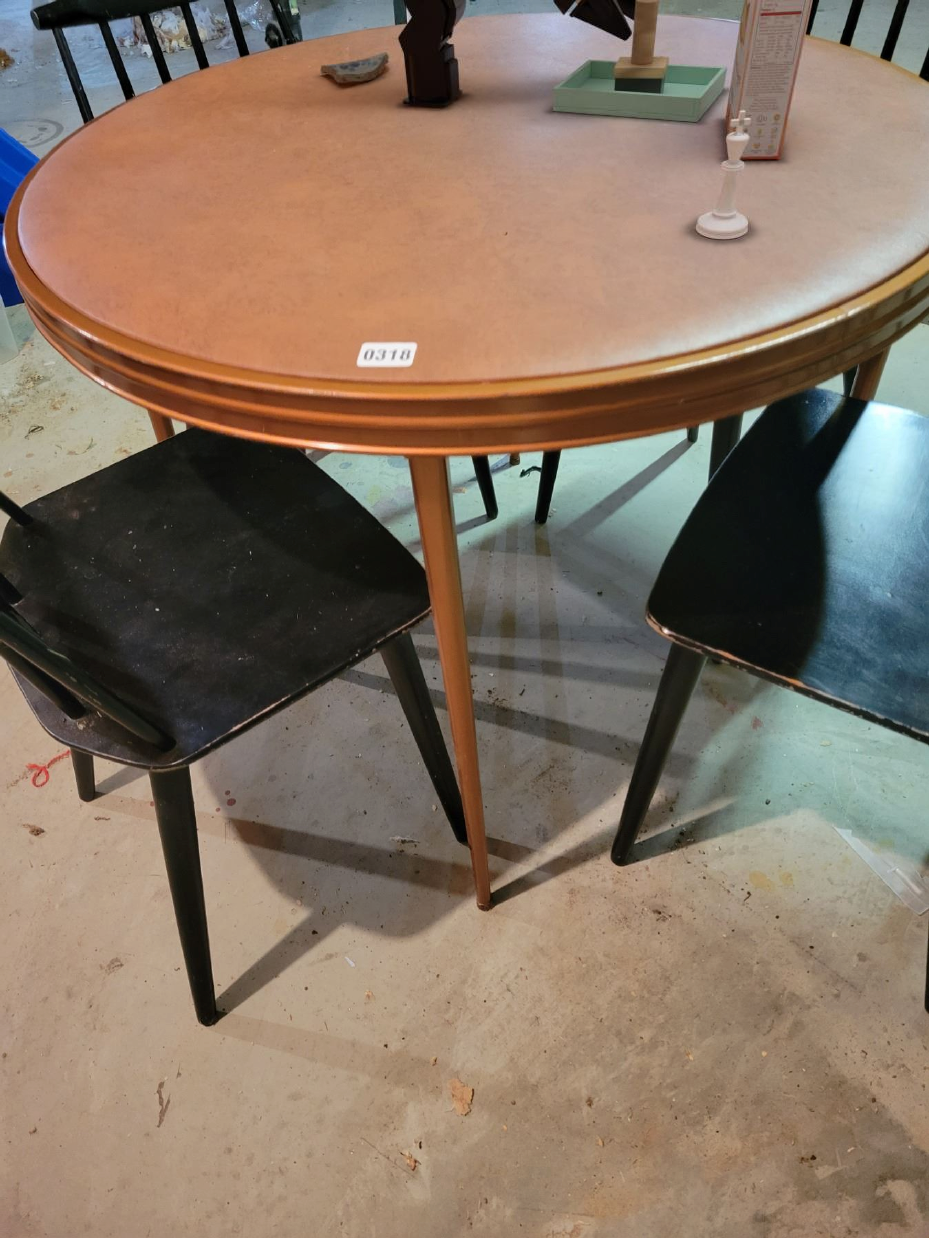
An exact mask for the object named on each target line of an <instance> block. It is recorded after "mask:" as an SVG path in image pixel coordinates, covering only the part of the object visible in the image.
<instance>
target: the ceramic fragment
mask: <svg viewBox="0 0 929 1238" xmlns="http://www.w3.org/2000/svg"><path fill="white" fill-rule="evenodd" d="M389 58H390V56H389V54H388V53H387V52H381V53H378V54H376V55H372V56H368V57H366V58H365V57H364V58H361V59H358V60H353V61H348V62H341V63H334V64H333V63H332V64H323V65H321V66H320V73H321V74H322V75H323V74H328V75H329V76H332V77H333V79H334V80H335V81H336V82H337V83H339V84H340V83H341V84H349V83H350V84H352V83H363V82H367V81H371V80H374V79H375V78H376V77H378V76H379V75H380V74H381V73H382V72H383V70H384V69H385V66H386V65H387V64H389V61H390V60H389Z"/></svg>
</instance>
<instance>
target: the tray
mask: <svg viewBox="0 0 929 1238" xmlns="http://www.w3.org/2000/svg"><path fill="white" fill-rule="evenodd" d="M617 62H618V60H601V59H588V60H586V61H585V62H584V63H583V64H582V65H581V66H579V67H578V68H577V69H576V70H574V71H573V72H572V73H570V74H569V75H568V76H567V77H565V79H563V80H562V81H560V82H559V83H558V84H557V85H555V86H554V87H553V100H552V101H553V102H552V111H553V112H562V113H576V114H587V115H588V114H589V115H598V116H599V115H600V116H601V115H602V116H613V117H626V118H638V119H651V120H664V121H675V122H676V121H677V122H689V123H698V122H699V120H700V119H701V118H702V117H703V116H704V115H705V113H706V112H707V111H708V109H709V108H710V107H711V106H712V105H713V103H714V102H715V101H716V100H717V99H718V97H719V96H720V95H721V94H722V93H723V91H724V89H725V84H726V77H727V71H728V67H727V66H714V65H713V66H712V65H692V64H677V63H668V68H667V71H666V75H665V84H664V91H663V93H662V94H654V93H639V92H624V91H614V88H615V78H614V67H615V65H616V63H617Z"/></svg>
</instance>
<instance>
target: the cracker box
mask: <svg viewBox="0 0 929 1238" xmlns="http://www.w3.org/2000/svg"><path fill="white" fill-rule="evenodd" d="M812 6H813V0H743V2H742V6H741V14H740V22H739V27H738V34H737V39H736V41H737V42H736V47H735V54H734V59H733V66H732V73H731V80H730V86H729V93H728V99H727V104H726V105H727V106H726V113H725V121H726V122H725V124H726V136H727V135H728V134H730V133H733V132H736V127H737V126H734V127H731V126H730V122H731V120H732V119H738V115H739V111H742V110H744V111H745V112H746V113H745V118H751V123H750V125H743V130H742V132H744V133H746V134H748V135H749V141H748V143H747V145H746V146H745V149H744V151H743V153H742V155H741V157H740V161H743V160H775V159H776V160H780V159H781V154H782V150H783V145H784V142H785V141H784V139H785V135H786V131H787V126H788V120H789V116H790V111H791V106H792V103H793V96H794V92H795V87H796V82H797V77H798V72H799V68H800V63H801V58H802V53H803V47H804V44H805V38H806V33H807V30H808V26H809V20H810V15H811V10H812Z"/></svg>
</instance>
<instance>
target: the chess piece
mask: <svg viewBox="0 0 929 1238" xmlns="http://www.w3.org/2000/svg"><path fill="white" fill-rule="evenodd" d="M745 113H746V112H745V111H744V110H742V111H739V115H738V119H732V120H731V122H730V126H731V127H734V126H737V127H736V132H733V133H730V134H728V135H727V134H726V137H725V142H726V149H727V157H728V158H727V160H724V161H722V162H721V165H720V169H721V170H723V171H726V172H725V176H724V180H723V184H722V186H721V191H720V193H719V197H718V201H717V203H716V206H715V207H714V208H712V210H711V211H707V212H705V213H703V214H701V215H700V216H699V217H698V219H697V221H696V225H695V230H696V232H697V233H698V234H699V235H701V236H703V237H706V238H710V239H714V240H732V239H735V238H736V239H737V238H740V237H742V236H744V235H746V234H747V232H748V230H749V227H748V225H749V220H748V218H747V217H746V216H745V215H743V214H741V213H739V212H738V210H737V209H736V208H735V202H736V201H735V200H736V187H737V176H738V172H740V171H742V170H744V169H745V167H746V166H745V162H744V161H743V160H740V157H741V155H742V153H743V151H744V149H745V146H746V145H747V143H748V141H749V135H748V134H746V133H744V132H742V130H743V125H750V123H751V118H745Z"/></svg>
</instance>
